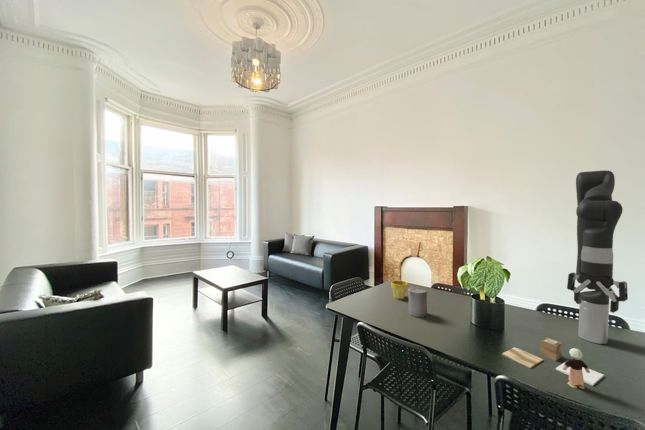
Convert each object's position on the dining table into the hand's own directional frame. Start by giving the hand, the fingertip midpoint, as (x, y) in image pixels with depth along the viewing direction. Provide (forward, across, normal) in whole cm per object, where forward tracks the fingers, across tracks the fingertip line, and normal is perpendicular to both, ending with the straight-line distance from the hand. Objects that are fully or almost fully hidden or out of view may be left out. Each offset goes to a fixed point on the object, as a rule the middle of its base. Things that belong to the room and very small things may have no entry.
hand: (594, 307), depth 91 cm
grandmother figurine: (+26, +2, +8) cm, 27 cm away
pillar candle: (+26, +69, +9) cm, 74 cm away
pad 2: (+26, +4, -2) cm, 26 cm away
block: (+26, +14, -6) cm, 30 cm away
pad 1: (+26, +19, +5) cm, 33 cm away
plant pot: (+26, +93, 0) cm, 97 cm away
